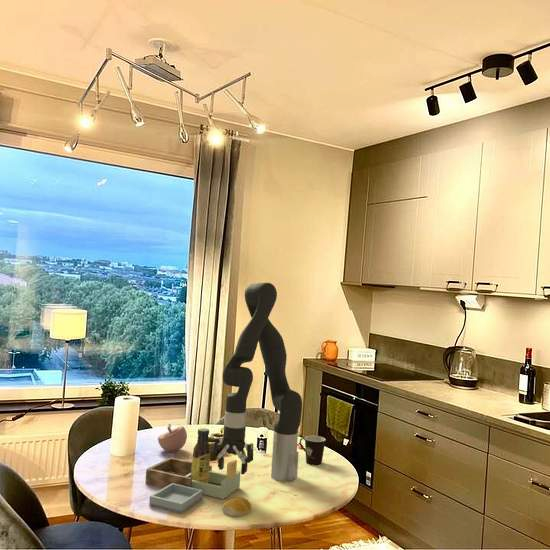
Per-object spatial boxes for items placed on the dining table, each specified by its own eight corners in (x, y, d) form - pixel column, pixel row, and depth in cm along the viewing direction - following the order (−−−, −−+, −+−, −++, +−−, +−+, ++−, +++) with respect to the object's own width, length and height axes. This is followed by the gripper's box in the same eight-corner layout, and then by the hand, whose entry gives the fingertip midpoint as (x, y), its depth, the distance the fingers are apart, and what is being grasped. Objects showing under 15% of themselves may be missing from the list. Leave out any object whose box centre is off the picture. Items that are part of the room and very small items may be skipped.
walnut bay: (211, 479, 191) (211, 466, 192) (189, 493, 178) (190, 479, 178) (169, 470, 198) (170, 457, 198) (145, 483, 184) (146, 469, 185)
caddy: (239, 487, 185) (241, 457, 186) (223, 499, 174) (225, 467, 174) (197, 477, 192) (199, 449, 192) (179, 488, 181) (181, 458, 181)
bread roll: (255, 510, 168) (256, 498, 168) (237, 520, 161) (238, 506, 161) (235, 503, 173) (236, 491, 173) (217, 511, 165) (218, 499, 166)
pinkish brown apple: (161, 445, 227) (163, 419, 227) (188, 447, 227) (190, 421, 227) (153, 454, 215) (155, 426, 215) (182, 456, 215) (184, 428, 215)
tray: (202, 499, 174) (202, 490, 174) (181, 513, 162) (181, 504, 162) (171, 491, 178) (172, 483, 178) (149, 505, 167) (149, 496, 167)
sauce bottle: (199, 491, 180) (203, 433, 181) (186, 486, 184) (190, 429, 184) (212, 485, 186) (215, 429, 186) (199, 481, 189) (202, 426, 190)
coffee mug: (327, 465, 214) (329, 441, 214) (308, 467, 211) (310, 442, 211) (315, 456, 225) (316, 433, 225) (297, 457, 222) (298, 434, 222)
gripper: (258, 424, 181) (255, 472, 181) (221, 418, 187) (219, 464, 186) (248, 430, 174) (246, 478, 174) (211, 423, 180) (208, 470, 179)
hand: (232, 471), depth 180 cm, fingers open, 8 cm apart
